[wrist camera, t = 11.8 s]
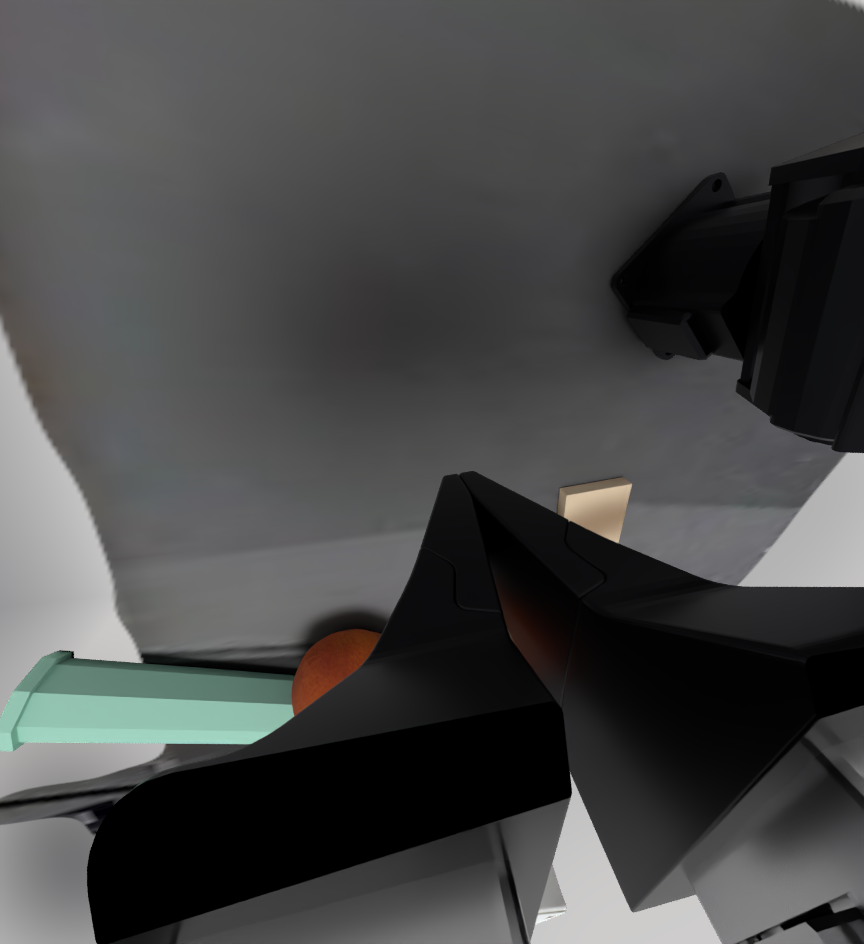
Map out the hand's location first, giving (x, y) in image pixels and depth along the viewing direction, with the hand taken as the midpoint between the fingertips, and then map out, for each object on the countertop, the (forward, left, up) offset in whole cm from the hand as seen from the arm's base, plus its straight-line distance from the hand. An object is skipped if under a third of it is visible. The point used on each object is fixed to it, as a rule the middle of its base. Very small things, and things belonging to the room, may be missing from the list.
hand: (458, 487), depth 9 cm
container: (+30, +5, -12) cm, 33 cm away
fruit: (+21, +11, -12) cm, 27 cm away
